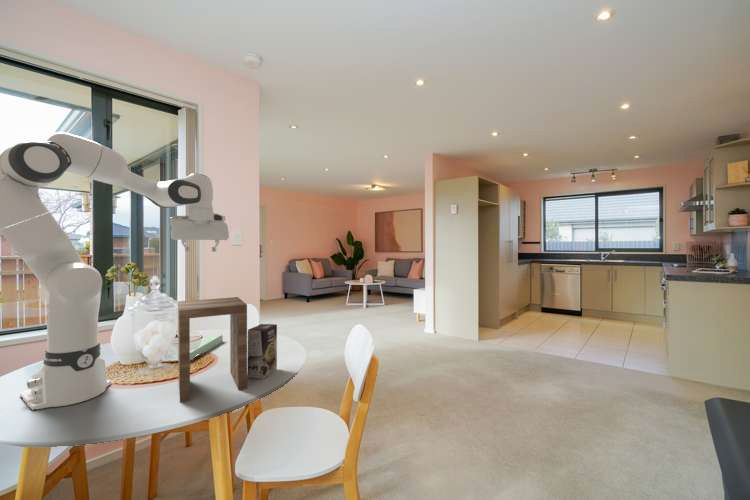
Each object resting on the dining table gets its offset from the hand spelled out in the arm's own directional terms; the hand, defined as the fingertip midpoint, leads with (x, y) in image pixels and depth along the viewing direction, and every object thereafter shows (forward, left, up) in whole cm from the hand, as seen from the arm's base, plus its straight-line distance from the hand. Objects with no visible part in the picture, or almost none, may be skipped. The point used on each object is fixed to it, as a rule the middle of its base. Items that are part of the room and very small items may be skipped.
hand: (200, 251), depth 133 cm
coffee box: (+34, -4, -41) cm, 54 cm away
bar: (-5, +4, -42) cm, 42 cm away
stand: (+27, -18, -41) cm, 52 cm away
